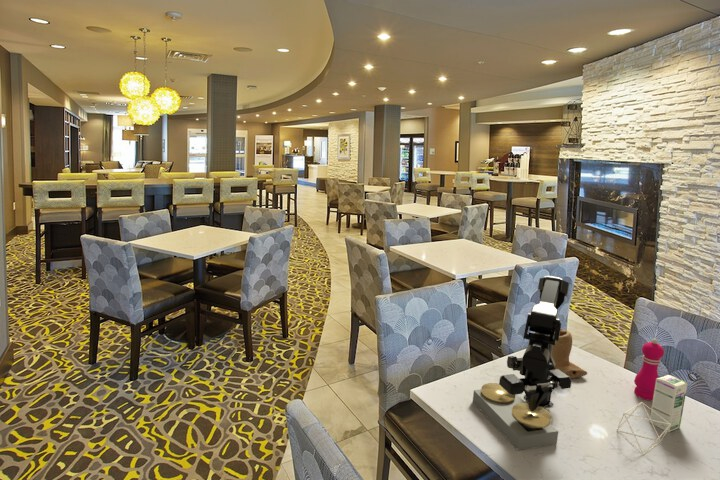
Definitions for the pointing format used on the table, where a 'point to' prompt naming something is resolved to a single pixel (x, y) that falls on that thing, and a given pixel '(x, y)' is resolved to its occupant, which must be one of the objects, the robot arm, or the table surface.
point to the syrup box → (668, 402)
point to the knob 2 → (531, 417)
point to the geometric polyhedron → (639, 435)
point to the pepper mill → (648, 370)
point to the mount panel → (514, 424)
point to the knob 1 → (496, 393)
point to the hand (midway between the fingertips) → (531, 410)
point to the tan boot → (565, 356)
